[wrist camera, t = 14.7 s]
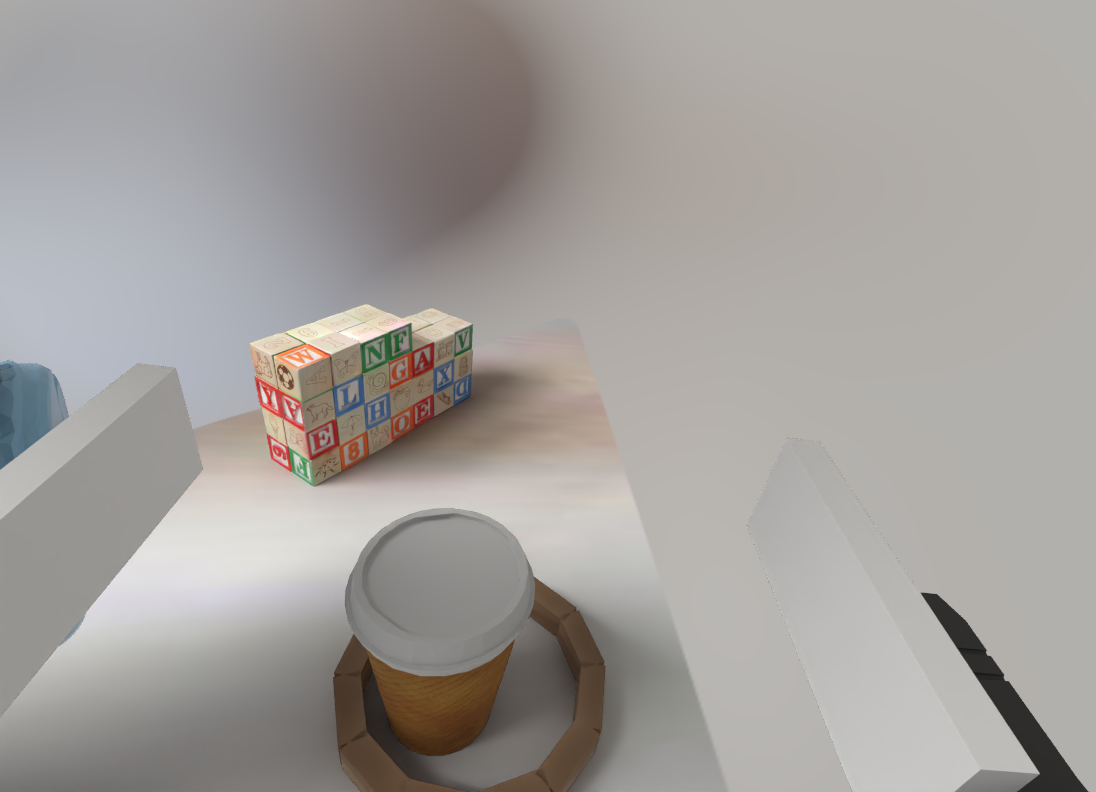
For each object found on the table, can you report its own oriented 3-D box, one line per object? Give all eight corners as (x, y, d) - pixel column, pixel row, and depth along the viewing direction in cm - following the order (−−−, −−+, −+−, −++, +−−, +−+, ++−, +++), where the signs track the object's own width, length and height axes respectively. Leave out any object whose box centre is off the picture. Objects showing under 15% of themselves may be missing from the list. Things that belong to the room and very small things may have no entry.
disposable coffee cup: (534, 655, 37) (555, 526, 31) (488, 813, 29) (504, 681, 23) (404, 616, 39) (399, 485, 33) (326, 757, 31) (300, 619, 24)
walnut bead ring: (282, 696, 33) (278, 677, 32) (473, 551, 44) (474, 533, 43) (472, 926, 25) (475, 910, 24) (644, 679, 37) (651, 661, 36)
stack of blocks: (432, 378, 67) (432, 281, 61) (471, 397, 65) (476, 297, 58) (269, 460, 51) (247, 340, 45) (313, 489, 49) (295, 367, 42)
